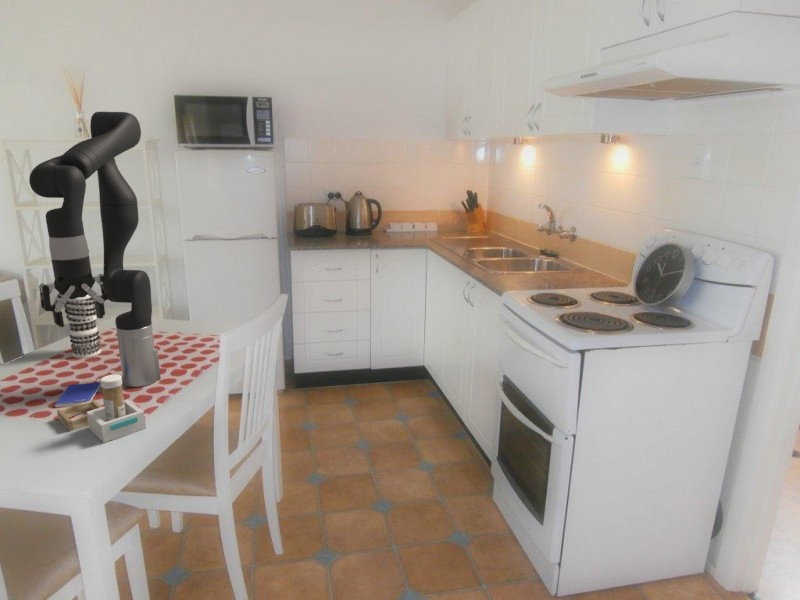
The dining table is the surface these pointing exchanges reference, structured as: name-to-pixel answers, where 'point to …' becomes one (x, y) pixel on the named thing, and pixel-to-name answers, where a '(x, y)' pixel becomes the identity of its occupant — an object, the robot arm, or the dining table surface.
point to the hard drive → (78, 394)
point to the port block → (116, 422)
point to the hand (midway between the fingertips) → (80, 322)
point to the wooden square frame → (75, 410)
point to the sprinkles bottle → (113, 397)
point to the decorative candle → (83, 327)
